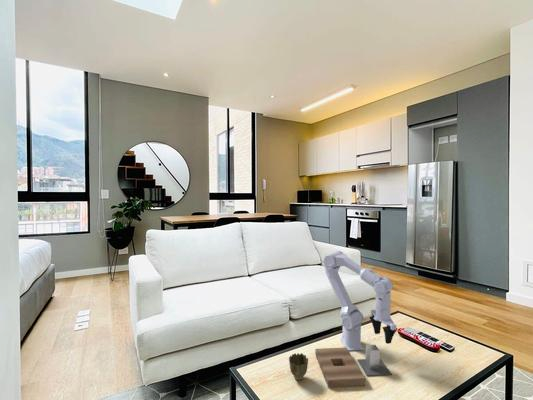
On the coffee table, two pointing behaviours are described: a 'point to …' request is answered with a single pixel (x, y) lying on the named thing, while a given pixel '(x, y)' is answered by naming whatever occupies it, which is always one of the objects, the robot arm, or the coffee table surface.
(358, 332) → the robot arm
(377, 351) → the plug
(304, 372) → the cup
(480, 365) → the coffee table surface
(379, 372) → the mat
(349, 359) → the brown wooden socket board
